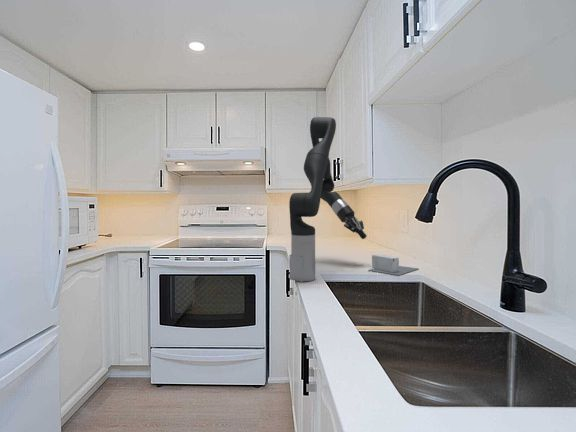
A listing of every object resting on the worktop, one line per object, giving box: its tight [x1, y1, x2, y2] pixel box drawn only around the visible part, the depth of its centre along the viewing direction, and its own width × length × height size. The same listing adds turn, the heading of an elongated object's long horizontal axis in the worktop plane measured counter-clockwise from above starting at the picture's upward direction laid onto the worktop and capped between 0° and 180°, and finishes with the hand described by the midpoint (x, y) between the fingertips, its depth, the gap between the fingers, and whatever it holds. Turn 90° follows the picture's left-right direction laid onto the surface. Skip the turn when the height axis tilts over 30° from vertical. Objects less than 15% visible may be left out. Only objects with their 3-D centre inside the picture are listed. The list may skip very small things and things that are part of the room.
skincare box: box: [371, 253, 400, 272], centre depth 146 cm, size 6×4×12 cm
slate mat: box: [367, 265, 419, 277], centre depth 147 cm, size 18×14×1 cm
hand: (364, 237), depth 154 cm, fingers closed
